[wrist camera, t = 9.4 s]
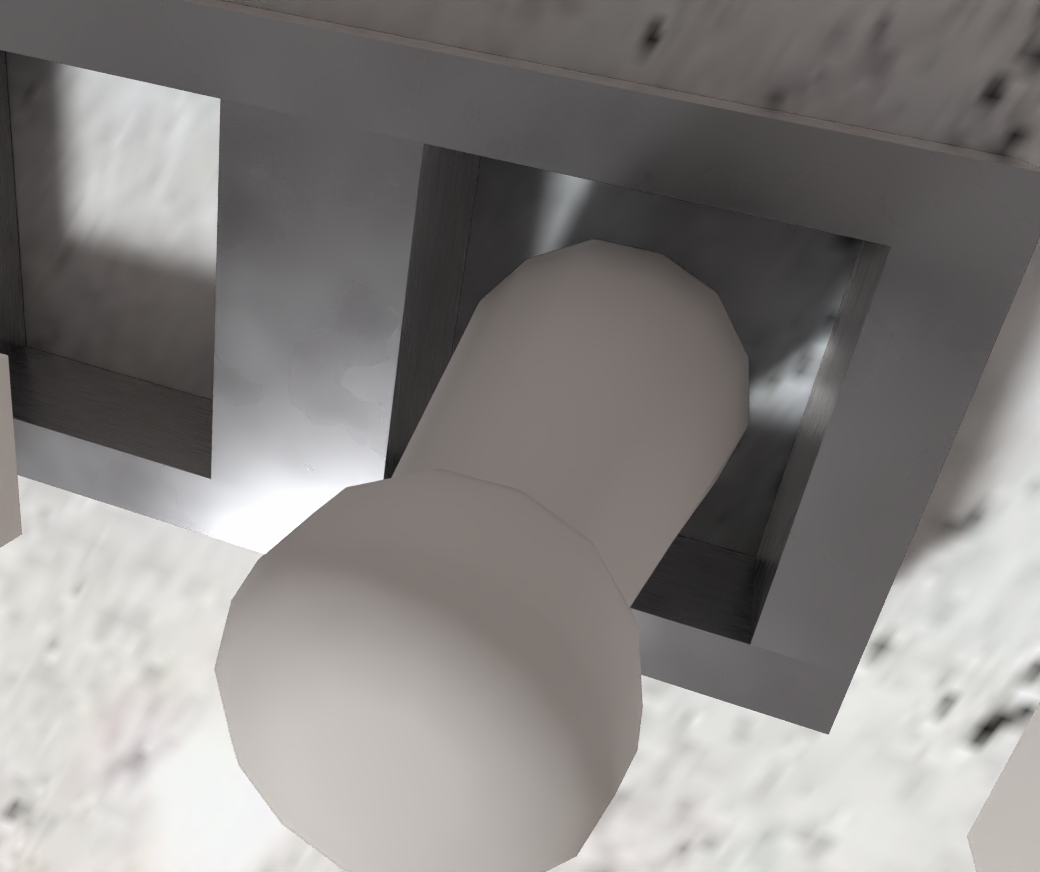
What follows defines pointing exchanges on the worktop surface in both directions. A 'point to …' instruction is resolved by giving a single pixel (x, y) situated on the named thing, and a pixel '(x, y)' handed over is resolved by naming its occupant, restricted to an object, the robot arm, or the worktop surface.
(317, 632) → the salt shaker
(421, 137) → the tray
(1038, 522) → the worktop surface
